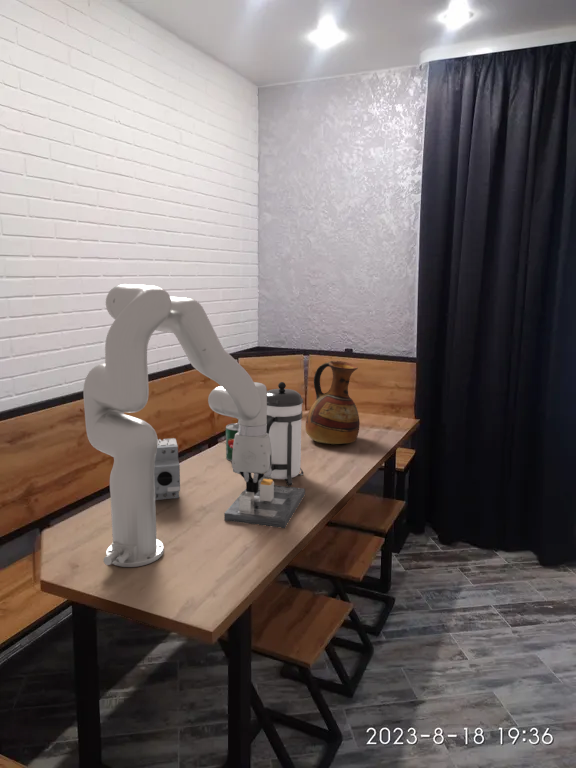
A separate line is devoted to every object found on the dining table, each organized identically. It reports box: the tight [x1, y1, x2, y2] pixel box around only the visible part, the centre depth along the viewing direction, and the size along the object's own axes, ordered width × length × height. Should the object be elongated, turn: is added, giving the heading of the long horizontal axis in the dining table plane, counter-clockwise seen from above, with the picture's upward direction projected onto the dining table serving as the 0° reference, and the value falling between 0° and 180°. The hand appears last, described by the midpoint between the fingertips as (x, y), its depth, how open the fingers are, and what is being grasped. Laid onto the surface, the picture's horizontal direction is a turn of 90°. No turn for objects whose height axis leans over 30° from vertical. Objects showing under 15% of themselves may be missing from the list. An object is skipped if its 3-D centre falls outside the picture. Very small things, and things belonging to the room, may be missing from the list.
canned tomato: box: [225, 422, 238, 462], centre depth 196 cm, size 8×8×11 cm
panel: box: [223, 476, 306, 529], centre depth 157 cm, size 22×16×7 cm
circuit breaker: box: [154, 437, 181, 501], centre depth 162 cm, size 8×14×15 cm, turn 15°
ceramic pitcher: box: [304, 360, 361, 445], centre depth 214 cm, size 20×20×30 cm
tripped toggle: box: [260, 478, 275, 502], centre depth 157 cm, size 3×3×5 cm
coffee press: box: [267, 381, 304, 487], centre depth 175 cm, size 17×16×30 cm
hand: (252, 494), depth 159 cm, fingers closed
